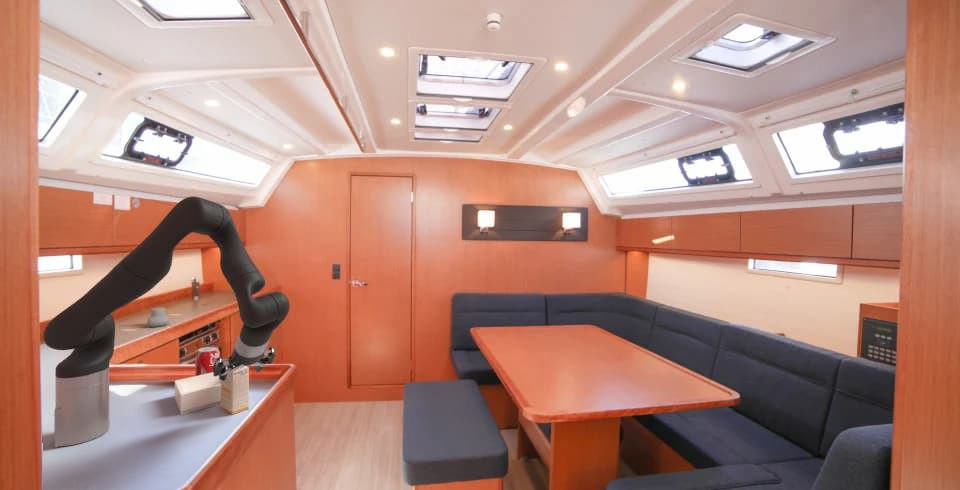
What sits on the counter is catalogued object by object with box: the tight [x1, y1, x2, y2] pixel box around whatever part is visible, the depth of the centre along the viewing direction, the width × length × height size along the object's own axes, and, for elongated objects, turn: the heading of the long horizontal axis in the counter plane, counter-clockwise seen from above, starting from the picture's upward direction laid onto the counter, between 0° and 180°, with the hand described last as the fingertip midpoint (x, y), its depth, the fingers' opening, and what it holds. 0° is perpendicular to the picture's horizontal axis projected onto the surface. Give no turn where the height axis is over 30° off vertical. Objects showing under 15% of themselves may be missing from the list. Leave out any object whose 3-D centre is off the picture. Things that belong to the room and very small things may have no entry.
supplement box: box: [220, 366, 250, 415], centre depth 106 cm, size 8×5×13 cm, turn 58°
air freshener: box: [147, 306, 170, 328], centre depth 194 cm, size 11×8×10 cm
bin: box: [174, 372, 221, 416], centre depth 111 cm, size 14×14×6 cm
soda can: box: [195, 345, 221, 376], centre depth 124 cm, size 7×7×12 cm
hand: (240, 373), depth 101 cm, fingers open, 8 cm apart
